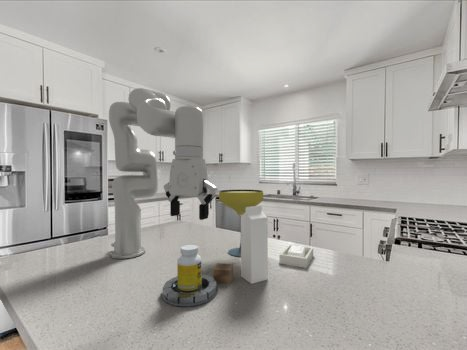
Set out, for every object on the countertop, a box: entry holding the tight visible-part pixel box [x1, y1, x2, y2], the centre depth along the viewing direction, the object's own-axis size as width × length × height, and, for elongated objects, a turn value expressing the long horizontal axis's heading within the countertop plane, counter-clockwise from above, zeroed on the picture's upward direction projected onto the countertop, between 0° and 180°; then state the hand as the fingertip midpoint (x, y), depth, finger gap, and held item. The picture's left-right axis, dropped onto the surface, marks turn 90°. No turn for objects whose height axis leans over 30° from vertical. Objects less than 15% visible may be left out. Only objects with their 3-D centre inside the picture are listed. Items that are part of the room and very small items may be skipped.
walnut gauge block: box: [213, 262, 234, 284], centre depth 73 cm, size 5×5×4 cm
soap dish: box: [279, 244, 314, 269], centre depth 90 cm, size 9×13×3 cm
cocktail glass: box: [218, 189, 265, 258], centre depth 98 cm, size 18×18×25 cm
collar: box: [161, 273, 218, 308], centre depth 65 cm, size 15×15×2 cm
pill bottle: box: [176, 244, 203, 294], centre depth 66 cm, size 6×6×12 cm
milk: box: [240, 205, 269, 285], centre depth 74 cm, size 6×6×22 cm
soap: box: [287, 245, 306, 258], centre depth 90 cm, size 9×6×3 cm, turn 158°
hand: (189, 217), depth 66 cm, fingers open, 9 cm apart
